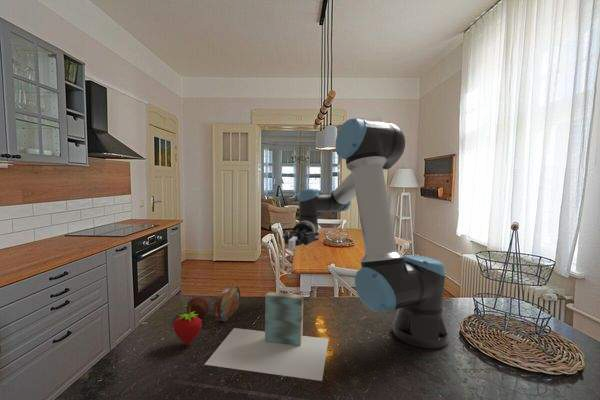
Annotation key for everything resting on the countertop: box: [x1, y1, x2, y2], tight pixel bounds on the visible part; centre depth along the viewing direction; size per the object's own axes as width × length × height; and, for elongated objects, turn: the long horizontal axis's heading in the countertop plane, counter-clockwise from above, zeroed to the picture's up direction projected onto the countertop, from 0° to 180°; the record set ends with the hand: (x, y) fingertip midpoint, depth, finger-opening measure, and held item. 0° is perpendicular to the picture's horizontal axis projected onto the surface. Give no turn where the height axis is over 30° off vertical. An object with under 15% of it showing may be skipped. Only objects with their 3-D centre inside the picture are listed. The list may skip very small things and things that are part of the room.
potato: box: [186, 295, 210, 320], centre depth 97 cm, size 7×9×6 cm
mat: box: [204, 327, 330, 382], centre depth 77 cm, size 28×18×1 cm, turn 80°
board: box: [264, 291, 304, 346], centre depth 81 cm, size 10×2×13 cm, turn 80°
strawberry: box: [172, 311, 203, 346], centre depth 80 cm, size 6×8×10 cm
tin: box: [213, 285, 241, 322], centre depth 98 cm, size 15×3×8 cm, turn 168°
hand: (290, 245), depth 88 cm, fingers closed
